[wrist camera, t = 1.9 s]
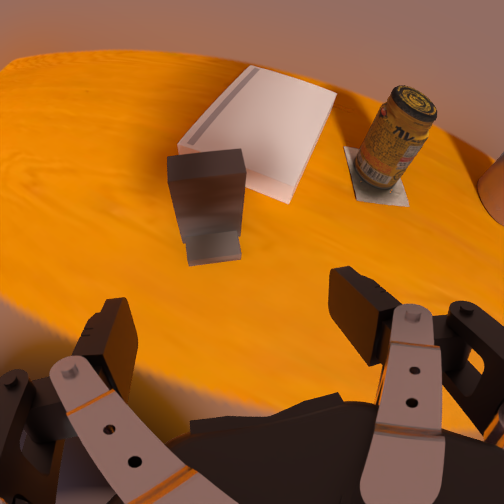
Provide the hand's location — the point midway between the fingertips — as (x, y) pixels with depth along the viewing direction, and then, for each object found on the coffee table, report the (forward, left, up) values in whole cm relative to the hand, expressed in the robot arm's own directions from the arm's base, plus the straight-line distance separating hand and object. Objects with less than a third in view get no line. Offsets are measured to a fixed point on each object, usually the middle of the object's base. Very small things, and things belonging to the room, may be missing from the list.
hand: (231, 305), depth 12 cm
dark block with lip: (-1, -10, -15) cm, 18 cm away
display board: (-12, -24, -15) cm, 30 cm away
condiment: (-23, -14, -15) cm, 30 cm away
